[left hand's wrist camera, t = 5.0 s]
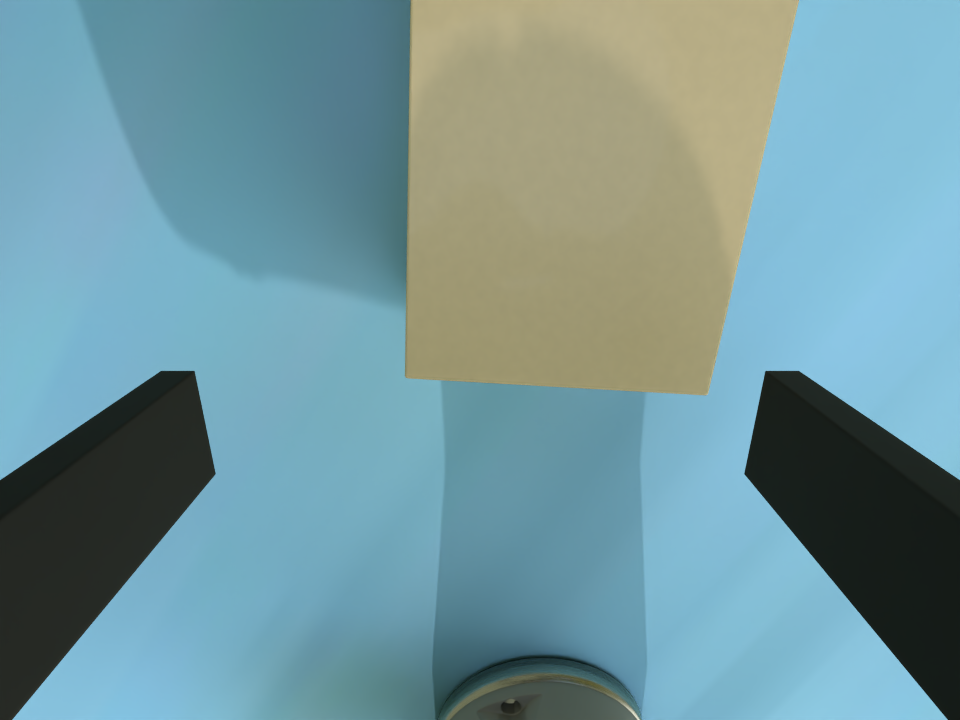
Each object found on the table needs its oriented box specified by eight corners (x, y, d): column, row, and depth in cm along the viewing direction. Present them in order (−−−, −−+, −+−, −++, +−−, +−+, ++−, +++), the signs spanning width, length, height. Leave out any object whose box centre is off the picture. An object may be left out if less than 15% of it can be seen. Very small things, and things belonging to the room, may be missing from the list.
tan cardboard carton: (443, -178, 22) (416, -440, 12) (713, -156, 22) (892, -397, 12) (429, 306, 29) (404, 379, 19) (633, 318, 29) (708, 396, 19)
